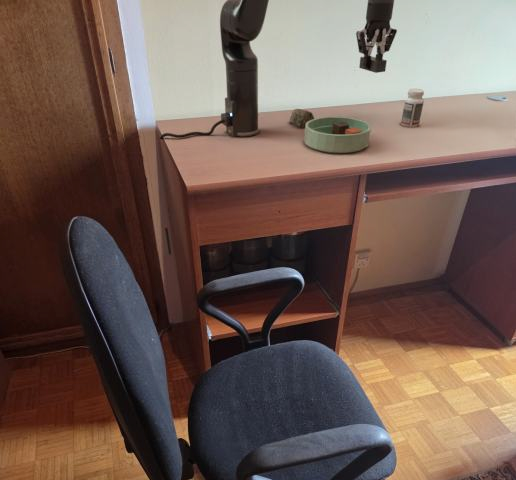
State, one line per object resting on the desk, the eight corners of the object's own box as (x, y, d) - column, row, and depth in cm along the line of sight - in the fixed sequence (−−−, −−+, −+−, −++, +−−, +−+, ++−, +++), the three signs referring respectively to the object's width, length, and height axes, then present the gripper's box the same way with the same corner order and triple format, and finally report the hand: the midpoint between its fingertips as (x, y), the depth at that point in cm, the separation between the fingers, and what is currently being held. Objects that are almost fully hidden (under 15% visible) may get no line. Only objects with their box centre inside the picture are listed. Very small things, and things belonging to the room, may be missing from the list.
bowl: (325, 158, 122) (327, 139, 119) (293, 139, 135) (293, 121, 131) (381, 148, 128) (384, 129, 125) (345, 131, 141) (347, 113, 137)
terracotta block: (350, 145, 128) (352, 132, 126) (343, 142, 131) (345, 129, 128) (360, 143, 129) (362, 130, 127) (354, 140, 132) (355, 127, 129)
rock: (283, 125, 146) (284, 109, 143) (296, 119, 151) (297, 104, 148) (302, 128, 143) (302, 113, 140) (314, 123, 147) (316, 108, 144)
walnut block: (338, 139, 133) (339, 126, 130) (331, 135, 135) (332, 123, 133) (348, 137, 134) (349, 124, 132) (341, 134, 136) (342, 121, 134)
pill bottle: (417, 122, 148) (424, 88, 141) (420, 127, 143) (427, 92, 137) (399, 122, 148) (405, 88, 141) (401, 127, 144) (408, 92, 137)
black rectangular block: (385, 71, 140) (386, 60, 138) (376, 72, 139) (377, 61, 137) (368, 66, 146) (369, 55, 144) (359, 67, 145) (360, 57, 143)
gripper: (392, -2, 136) (382, 64, 147) (353, 0, 131) (346, 68, 143) (408, 0, 130) (397, 68, 142) (368, 2, 126) (360, 72, 137)
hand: (371, 68), depth 142 cm, fingers closed on black rectangular block, 3 cm apart
